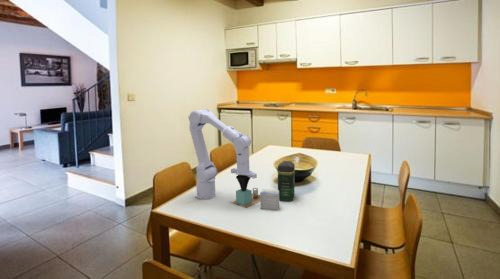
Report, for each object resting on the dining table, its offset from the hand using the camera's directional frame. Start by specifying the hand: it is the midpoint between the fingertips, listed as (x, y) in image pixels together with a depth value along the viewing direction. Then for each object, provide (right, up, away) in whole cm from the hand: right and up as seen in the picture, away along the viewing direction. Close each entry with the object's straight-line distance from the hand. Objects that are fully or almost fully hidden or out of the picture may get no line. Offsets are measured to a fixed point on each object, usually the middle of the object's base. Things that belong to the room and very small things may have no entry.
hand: (243, 190), depth 140 cm
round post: (+6, -5, +7) cm, 10 cm away
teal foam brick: (0, -6, +1) cm, 6 cm away
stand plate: (+3, -6, +4) cm, 8 cm away
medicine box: (+12, -8, -5) cm, 15 cm away
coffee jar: (+20, -6, +6) cm, 22 cm away
